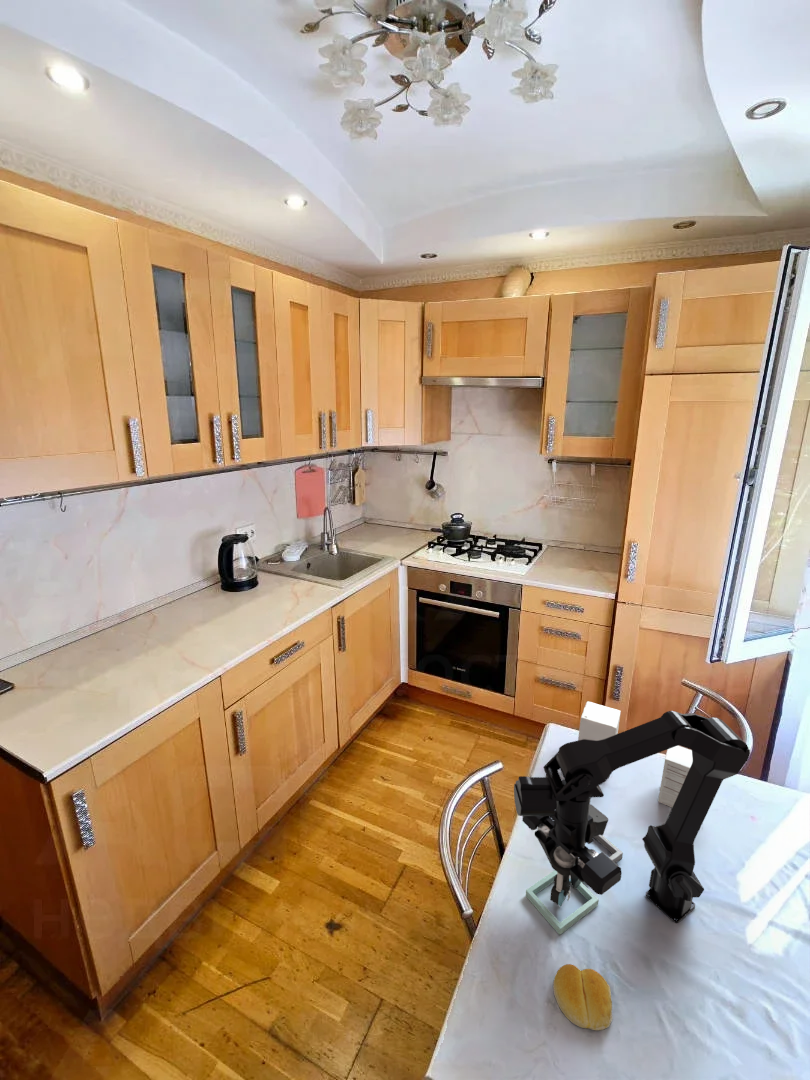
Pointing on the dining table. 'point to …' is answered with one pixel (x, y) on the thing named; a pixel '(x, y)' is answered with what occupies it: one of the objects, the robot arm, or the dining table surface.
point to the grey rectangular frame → (610, 848)
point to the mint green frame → (557, 925)
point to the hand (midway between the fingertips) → (564, 877)
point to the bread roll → (583, 997)
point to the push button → (561, 874)
